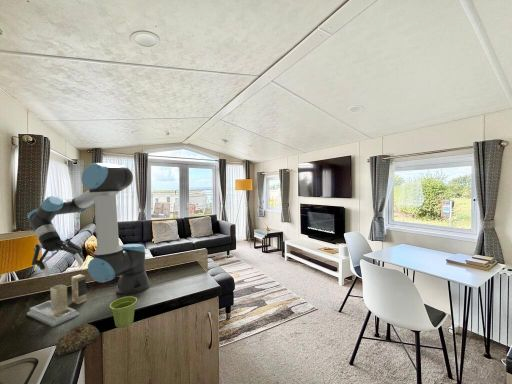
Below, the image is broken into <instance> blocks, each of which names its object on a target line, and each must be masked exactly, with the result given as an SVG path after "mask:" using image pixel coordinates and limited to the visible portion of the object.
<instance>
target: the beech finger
mask: <svg viewBox="0 0 512 384" xmlns="http://www.w3.org/2000/svg"><path fill="white" fill-rule="evenodd" d="M86 279H87V277H86V275H84V274H77V275H74V276H71V300H72V303H73V304H77V305H80V304H82V303H85V302H87V280H86Z"/></svg>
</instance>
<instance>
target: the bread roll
mask: <svg viewBox="0 0 512 384" xmlns="http://www.w3.org/2000/svg"><path fill="white" fill-rule="evenodd" d="M100 335H101V332H100V330H99V329H98V328H97V327H96V326H95V325H92V324H89V323H85V324H84V323H83V324H80V325H75V327H74V328H72V329H70V330H69V331H67V332H66V333H65V334H64V335H63V336H62V337H59V338H58V340H57V341H56V343H55V344H56V345H55V350H54V355H56V356H63V354H64V355H67V354H70V352H71V353H74V352H77V351H78V350H81V349H83V348H86V347H87V346H90V345H92V344H94V343H96V342H97V341H99V339H100V337H101V336H100Z"/></svg>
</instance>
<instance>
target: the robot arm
mask: <svg viewBox="0 0 512 384" xmlns="http://www.w3.org/2000/svg"><path fill="white" fill-rule="evenodd" d="M133 181H134V175H133V172H132V171H131V170H130V168H129V167H127V166H125V165H123V164H122V165H121V164H113V163H104V162H93V163H90V164H88V165H87V166H85V168H84V169H83V171H82V173H81V183H82V185H83V187H84V188H86V189H88V190H87V191H85V192H84V191H83V193H81V194H79V195H78V196H76V197H74V198H72V199H62V198H60V197H58V196H52V195H51V196H47V197H46V198H45V199H44V200H43V201H42V202H41V204H40V205H39V208H37V209H33V210H31V212H28V213H27V215H26V217H27V219H28V223H29V224H30V226H31V227H32V230H33V232H35V236H36V237H37V239H38V241H39V243H40V244H36V245H35V246H34V247H33V250H34V253H33V257H32V262H31V265H32V266H35V265H36V266H37V267H38V268H39V269H40V271H43V272H44V274H45V276H46V277H48V276H50V274H51V270H50V268H49V265H48V264H47V262H46V260H44V259H45V258H46V256H47V254H48V253H49V252H51V253H53V252H55V251H56V252H57V251H59V250H60V251H64V252H67V253H69V254H72V255H74V256H73V258H74V259H75V261H76V263H77V264H78V265H79V267H82V266H83V264H84V262H83V256H82V254H81V253H82V252H83V250H84V249H83V248H81V246H79V245H77V244H76V243H74V242H72V241H71V240H70V239H69V238H66V239H65V240H64V239H63V240H62V239H61V237H60V235H59V233H58V231H57V229H56V228H55V225H54V224H53V222H52V220H53V219H54V218H55V217H56V216H57V215H58V216H59V215H65V214H73V213H75V214H76V213H82V212H83V213H84V212H87V211H88V210H89V208H90V206H92V205H93V206H94V218H95V219H94V220H95V232H96V233H95V234H96V246H97V248H96V250H95V251H94V252H93V258H92V259H91V260H90V261H89V262H88V264H87V271H88V274H89V275H90V277H91V278H92V280H94V281H96V282H97V283H107V282H109V281H113V280H114V279H115V278H118V277H119V279H118V282H117V285H116V293H118V294H121V295H132V294H138V293H140V292H142V291H145V290H146V289H147V288H149V287H150V279H149V277H148V275H147V272H146V248H145V245H143V244H140V243H126V244H121V245H120V240H119V237H120V236H119V224H118V207H117V195H118V194H119V193H120V192H121V191H124V190H125V189H127V188H128V187H130V186H131V185H132V183H133ZM41 249H44V252H43V254H42V255H41V257H40V258H39V259H38V257H39V254H40V250H41Z"/></svg>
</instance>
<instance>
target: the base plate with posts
mask: <svg viewBox="0 0 512 384" xmlns="http://www.w3.org/2000/svg"><path fill="white" fill-rule="evenodd" d="M26 315H27V316H28V317H31V319H32V318H33V319H34V320H37V321H39V322H41V323H44V324H45V325H48V326H50V327H52V328H54V327H56V326H58V325H61V324H63V323H64V322H67V321H69V320H70V319H73V318H75V317H77V316H79V315H80V311H77V309H74V308H72V307H69V306H68V286H67V285H65V284H62V283H60V284H57V285H54V286H51V287H50V300H46V301H45V302H42V303H40V304H37V305H34V306H32V307H30V308H29V311H27V312H26Z"/></svg>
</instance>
